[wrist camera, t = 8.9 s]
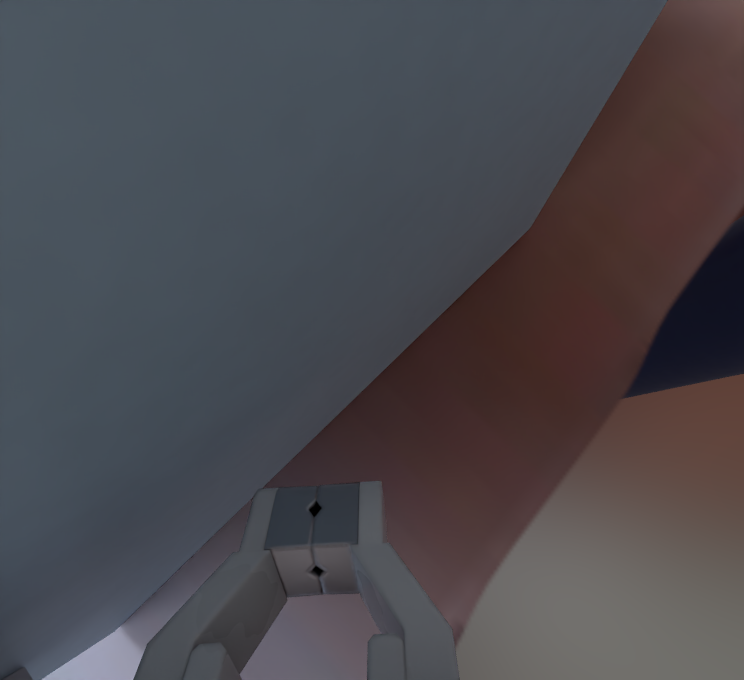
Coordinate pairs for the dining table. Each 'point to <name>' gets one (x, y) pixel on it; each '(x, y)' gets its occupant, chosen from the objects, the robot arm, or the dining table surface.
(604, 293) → the dining table surface
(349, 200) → the cupboard door
